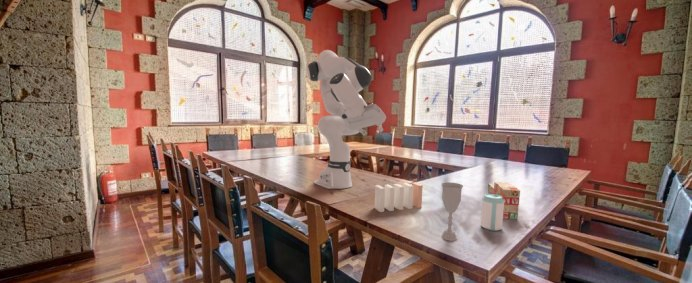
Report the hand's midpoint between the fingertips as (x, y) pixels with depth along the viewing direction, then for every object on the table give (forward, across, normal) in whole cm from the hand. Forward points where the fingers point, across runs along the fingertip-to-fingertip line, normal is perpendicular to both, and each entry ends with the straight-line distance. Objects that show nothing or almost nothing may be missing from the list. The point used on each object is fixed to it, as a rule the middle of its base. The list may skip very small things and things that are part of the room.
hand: (373, 132), depth 131 cm
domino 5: (+35, -8, +12) cm, 38 cm away
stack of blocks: (+54, -36, -2) cm, 65 cm away
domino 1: (+24, -1, +24) cm, 33 cm away
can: (+40, -40, +17) cm, 59 cm away
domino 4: (+32, -6, +15) cm, 36 cm away
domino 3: (+29, -4, +18) cm, 35 cm away
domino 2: (+26, -3, +21) cm, 34 cm away
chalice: (+27, -33, +32) cm, 53 cm away
